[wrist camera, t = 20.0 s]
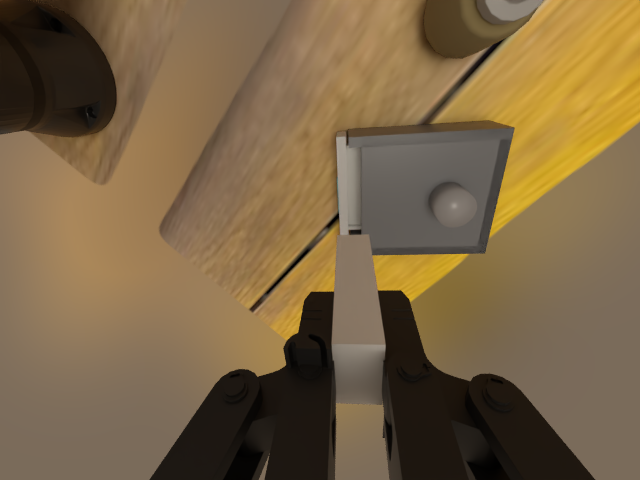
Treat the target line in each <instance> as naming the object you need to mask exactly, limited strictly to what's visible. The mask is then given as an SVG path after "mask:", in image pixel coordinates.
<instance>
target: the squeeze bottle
mask: <svg viewBox="0 0 640 480" xmlns="http://www.w3.org/2000/svg"><path fill="white" fill-rule="evenodd" d="M542 2H543V0H427V3H426V8H425V14H424V20H423V21H424V27H425V33H426V38H427V40H428V41H429V43H430V44H431V46H432V48H433V49H434V51H436V52H438V53H439V54H441V55H443V56H444V57H446V58H461V59H462V58H464V57H467V56H469V55H472V54H475V53H477V52H479V51H481V50H483V49H485V48H487V47H489V46H491V45H493V44H495V43H497V42H499V41H501V40H502V39H504V38H506V37H508V36H510V35H512V34H514V33H515V32H516V31H517V30H518V29H520V28H521V27H522V26H523V25H524V24H526V23H527V22H528V21H529V20H530V18H531V17H532V15H533V14H534V12H535V11H536V9H537V8H538V7H539V6H540V5H541V3H542Z"/></svg>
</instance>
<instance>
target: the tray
mask: <svg viewBox="0 0 640 480" xmlns="http://www.w3.org/2000/svg"><path fill="white" fill-rule="evenodd" d="M336 144H337V169H338V177H337V193H338V213H339V219H340V235H349V231H348V230H357V229H361V194H360V184H361V147H360V148H349V143H347V144H346V131H341V132H337V135H336Z"/></svg>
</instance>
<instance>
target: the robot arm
mask: <svg viewBox="0 0 640 480" xmlns="http://www.w3.org/2000/svg"><path fill="white" fill-rule="evenodd" d="M115 104H116V89H115V83H114V78H113V75H112V72H111V69H110V66H109V64H108V62H107V60H106V58H105V56H104V54H103V52H102V51H101V49H100V47H99V46H98V44H97V43H96V42H95V40H94V39H93V38H92V37H91V35H90V34H89V33H88V32H87V31H86V30H85V29H84V28H83V27H82V26H81V25H80V24H79V23H78V22H76V21H75V20H74V19H73V18H71V17H70V16H68V15H67V14H65V13H64V12H62V11H60V10H58V9H56V8H54V7H51V6H48V5H45V4H41V3H37V2H33V1H29V0H2V1H0V134H6V133H12V132H17V131H24V130H26V131H31V132H37V133H43V134H49V135H55V136H61V137H79V136H83V135H88V134H93V133H95V132H98V131H99V130H101V129H102V128H104V127H105V126H106V125H107V124H108V122H109V121H110V119H111V118H112V115H113V113H114V109H115ZM283 349H284V354H285V360H286V366H285V367H283V368H282V369H280V370H278V371H275V372H273V373H269V374H266V375H263V376H259V377H257V376H256V374H255V373H253V372H251V371H249V370H245V369H238V370H235V371H231V372H229V373H228V374H226V375H224V376H223V377H221V379H220V380H219V381H218V382H217V383H216V384H215V385H214V387H213V388H212V390H211V391H210V393H209V394H208V396H207V397H206V399H205V400H204V401H203V403H202V404H201V406H200V407H199V409H198V410H197V412H196V413H195V415H194V416H193V417H192V419H191V420H190V422H189V423H188V425H187V426H186V428H185V429H184V431H183V432H182V433H181V435H180V436H179V438H178V439H177V441H176V442H175V444H174V445H173V447H172V448H171V449H170V451H169V452H168V454H167V455H166V457H165V458H164V460H163V461H162V462H161V464H160V465H159V467H158V468H157V470H156V471H155V473H154V474H153V476H152V477H151V478H150V480H259V477H260V475H261V473H262V470H263V468H264V465H265V463H266V461H267V458H268V456H269V460H268V465H267V470H266V475H265V480H335V451H336V403H346V404H348V403H349V404H377V405H382V402H383V407H384V426H383V438H385V441H386V451H387V460H388V469H389V478H390V480H595V479H594V478H593V477H592V475H591V474H590V473H589V472H588V470H587V469H586V468H585V467H584V466H583V465H582V463H581V462H580V461H579V460H578V459H577V457H576V456H575V455H574V454H573V452H572V451H571V450H570V449H569V448H568V447H567V446H566V444H565V443H564V442H563V441H562V439H561V438H560V437H559V436H558V435H557V434H556V432H555V431H554V430H553V429H552V427H551V426H550V425H549V424H548V423H547V421H546V420H545V419H544V418H543V417H542V415H541V414H540V413H539V412H538V411H537V410H536V408H535V407H534V406H533V405H532V403H531V402H530V401H529V400H528V399H527V397H526V396H525V395H524V394H523V393H522V392H521V390H519V389H518V388H517V387H516V386H515V385H514V384H513V383H511V382H510V381H508V380H506V379H504V378H503V377H500V376H497V375H493V374H479V375H477V376H475V377H473V378H472V380H471V381H467V380H464V379H460V378H457V377H454V376H451V375H448V374H445V373H443V372H442V371H440V370H438V369H437V368H436V367H434V366H433V365H432V363H431V362H429V360H428V359H427V357H426V355H425V353H424V349H423V346H422V343H421V340H420V336H419V332H418V329H417V325H416V322H415V320H414V315H413V312H412V308H411V304H410V301H409V299H408V298H407V297H406V295H405V294H404V293H403V292H402V291H401V290H400V291H377V284H376V278H375V271H374V264H373V258H372V251H371V245H370V238H369V234H366V235H337V251H336V270H335V288H334V292H311V293H310V294H309V295H308V296H307V298H306V299H305V300H304V305H303V312H302V316H301V321H300V326H299V332H298V333H297V334H295V335H293V336H292V337H290V338H289V339H288V340H287V342H286V344H285V346H284V348H283ZM269 453H270V455H269Z"/></svg>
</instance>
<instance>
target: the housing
mask: <svg viewBox="0 0 640 480" xmlns="http://www.w3.org/2000/svg"><path fill="white" fill-rule="evenodd" d="M513 133H514V127H511V126H507V125H503V124H500V123H496V122H493V121H489V120H488V121H472V122H456V123H440V124H423V125H407V126H391V127H375V128H358V129H348V143H349V148H360V147H361V229H357V230H350V235H366V234H369V238H370V245H371V251H372V255H418V254H473V253H485V251H486V247H487V242H488V238H489V234H490V230H491V226H492V221H493V217H494V213H495V209H496V204H497V200H498V196H499V192H500V188H501V183H502V179H503V175H504V171H505V166H506V162H507V158H508V154H509V150H510V145H511V141H512V137H513Z"/></svg>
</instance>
